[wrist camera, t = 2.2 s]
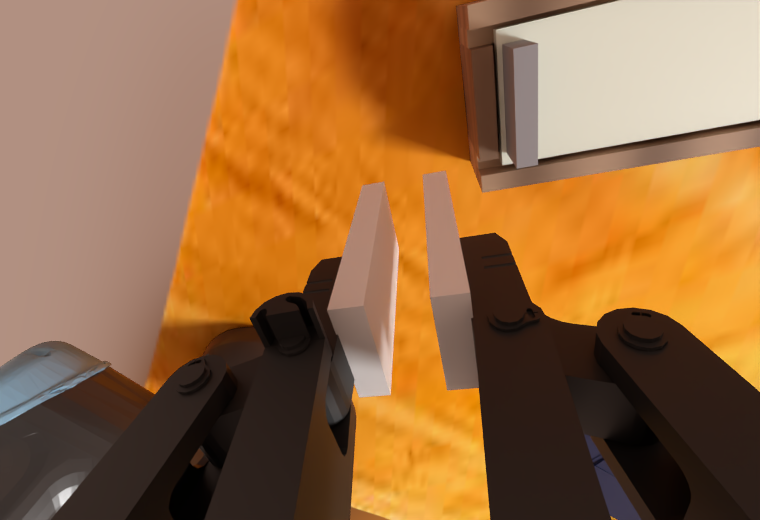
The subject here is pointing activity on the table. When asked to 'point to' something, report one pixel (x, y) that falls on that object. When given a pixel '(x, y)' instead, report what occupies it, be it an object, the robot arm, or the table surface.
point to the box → (476, 37)
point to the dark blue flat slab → (611, 487)
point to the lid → (624, 75)
